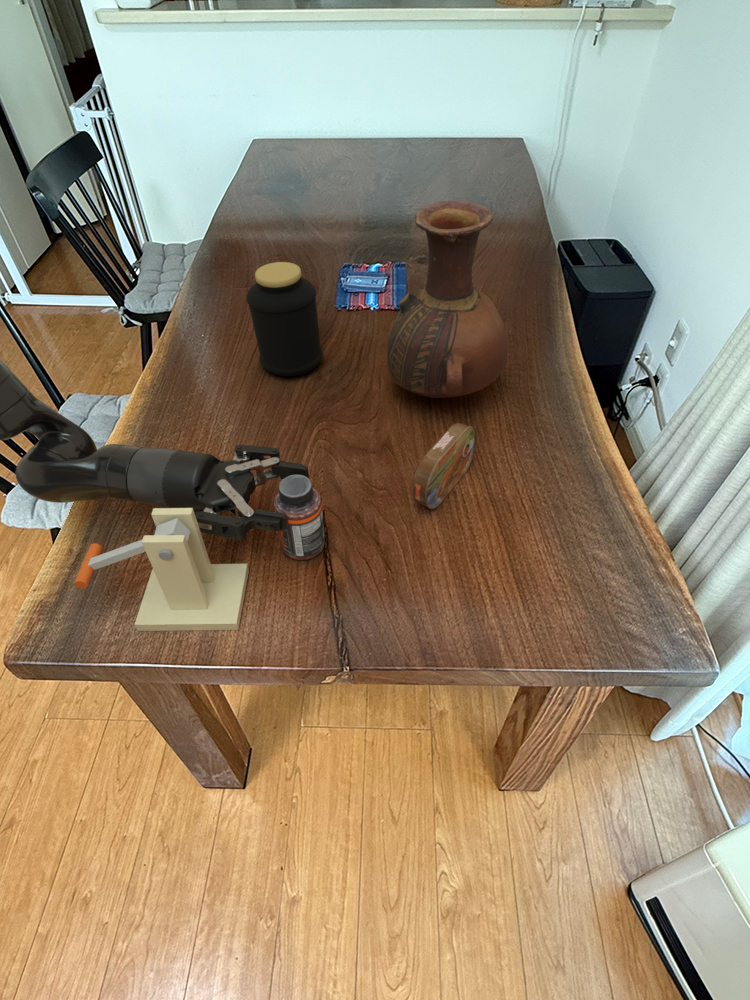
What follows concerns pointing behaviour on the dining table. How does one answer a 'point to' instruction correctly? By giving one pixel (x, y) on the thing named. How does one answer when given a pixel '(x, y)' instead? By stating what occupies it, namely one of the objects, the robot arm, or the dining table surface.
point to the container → (285, 319)
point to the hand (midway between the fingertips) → (297, 497)
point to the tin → (444, 465)
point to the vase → (448, 312)
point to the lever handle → (122, 552)
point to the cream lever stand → (188, 582)
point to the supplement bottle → (300, 518)
